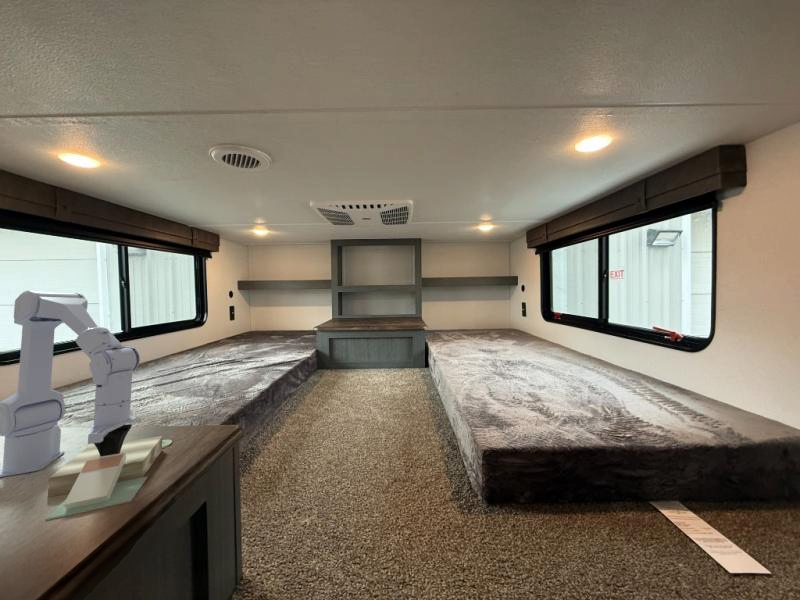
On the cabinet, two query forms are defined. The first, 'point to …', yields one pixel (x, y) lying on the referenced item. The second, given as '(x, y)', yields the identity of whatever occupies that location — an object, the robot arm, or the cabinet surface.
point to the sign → (166, 443)
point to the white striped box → (96, 481)
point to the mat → (119, 495)
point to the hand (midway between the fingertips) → (110, 461)
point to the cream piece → (135, 465)
